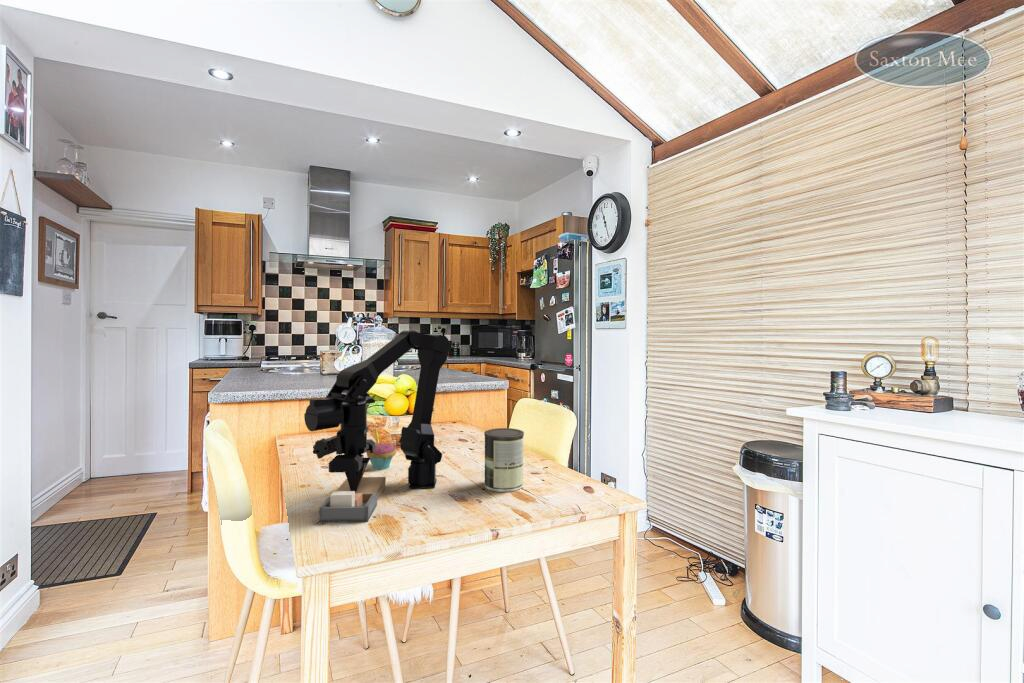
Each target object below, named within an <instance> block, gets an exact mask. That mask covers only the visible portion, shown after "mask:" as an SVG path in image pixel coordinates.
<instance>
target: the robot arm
mask: <svg viewBox="0 0 1024 683" xmlns="http://www.w3.org/2000/svg"><path fill="white" fill-rule="evenodd" d="M412 349H413V350H415V351H417V358H418V362H419V364H420V371H419V377H418V383H417V388H416V393H415V394H416V395H415V400H414V407H413V411H412V412H413V413H412V417H411V418H412V419H411V422H409V424H408V425H407V426H402V427H401V432H400V434H401V435H400V438H399V440H398V443H399V444H400V451H402V453H403V454H404V457H405V459H406V461H410V465H409V466H408V469H407V476H408V477H407V482H408V484H409V486H408V487H409V489H419V488H420V489H424V488H425V489H434V488H436V484H437V481H438V479H437V477H436V476H437V474H436V473H437V470H436V469H437V464H439V463H441V461H442V457H443V452H441V451H440V450H439V449H438V448H437V447H436V445H435V433H434V431H433V426H432V418H433V412H434V405H435V400H436V395H437V387H438V383H439V382H438V381H439V375H440V371H441V368H442V367H443V366H444V364H445V363H446V361H447V360H448V357H449V355H450V354H449V353H450V351H451V342H450V340H449V338H448V337H447V336H446V335H445V334H426V333H421V332H418V331H416V330H402V331H401V332H399V333H398V335H397V336H396V337H394V338H392V340H390V341H389V342H387V343H386V344H385V345H384V346H383V347H381V348H380V349H378V350H377V351H375V352H374V353H373V354H372V355H370V356H369V357H368V358H367V359H365V360H362V361H360V362H358V363H355V364H354V363H353V364H351V365H350V366H347V367H345V368H344V369H342V370H340V371H339V373H338V374H337V375H336V380H335V382H334V384H333V386H331V389H330V390H329V392H328V393H327V395H326V396H325V398H311V399H309V405H307V406H306V410H305V413H304V414H303V415H304V416H303V418H304V424H305V426H306V428H307V429H308V431H310V432H316V431H323V430H328V429H329V430H330V429H334V428H338V427H339V426H340V429H339V430H338V431H337V432H336V435H333V436H331V437H328V438H321V439H318V440H316V441H315V442H314V444H313V446H312V449H313V450H312V453H313V454H314V455H316V457H317V459H318V460H319V459H323V458H324V457H326V456H328V455H331V454H333V453H335V454H336V455H335V456H334V458H332V459H331V460H330V461H329V462H328V472H329V473H334V474H335V473H344V474H345V476H346V479H347V480H348V483H349V487H350V490H351V491H355V492H356V491H357V489H358V487H359V484H360V482H361V479H362V477H364V474H365V472H366V469H367V466H368V464H369V462H370V458H369V457H365V455H364V454H365V453H366V451H368V450H370V452H371V453H374V451H375V443H376V442H375V441H374V440H373V439H368V436H367V435H368V432H370V429H369V428H370V427H369V426H368V420H367V419H368V418H367V416H368V415H367V413H368V410H367V409H368V408H367V404H368V405H369V404H375V402H376V400H375V399H374V398H373V397H372V396H371V395H370V394H369V391H370V390H371V389H372V388H373V387H374V386H375V385H376V383H377V381H378V379H379V376H381V374H382V373H383V372H384V371H386V370H387V369H388V368H389V367H391V366H392V365H394V363H395V362H397V361H398V360H399V359H400V358H402V357H403V356H404V355H405V354H406V353H408V352H409V351H410V350H412Z"/></svg>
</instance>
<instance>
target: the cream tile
mask: <svg viewBox="0 0 1024 683" xmlns="http://www.w3.org/2000/svg"><path fill="white" fill-rule="evenodd" d="M329 497H330V507H352V506H355V491H337V490H333V492H331V494H330V495H329Z"/></svg>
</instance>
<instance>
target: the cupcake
mask: <svg viewBox="0 0 1024 683" xmlns="http://www.w3.org/2000/svg"><path fill="white" fill-rule="evenodd" d="M376 427H377V426H374V432H375V439H376V440H375V441H376V442H375V451H374V453H371V452H370V450H368V451H366V452H365V453H366V458H370V460H369V462H370V463H371V467H372V469H375V470H386V469H388V468H390V466H391V465H390V464H391V462H392V460H393V457H394V456H395V455H396V454H397V449H396V446H394V445H393V444H391V443H389V442H380V440H379V432H378V428H376Z"/></svg>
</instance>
